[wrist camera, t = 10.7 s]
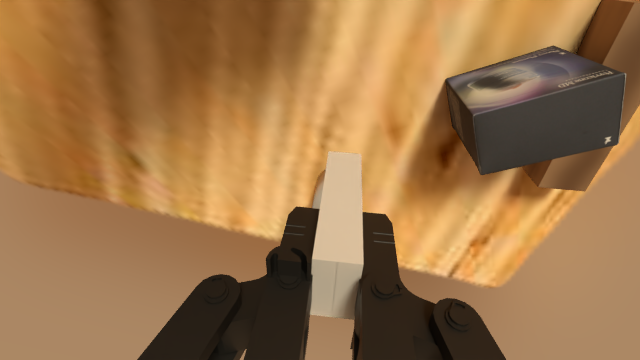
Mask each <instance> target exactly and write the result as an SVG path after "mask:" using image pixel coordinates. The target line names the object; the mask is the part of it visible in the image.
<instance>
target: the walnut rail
mask: <svg viewBox="0 0 640 360" xmlns="http://www.w3.org/2000/svg"><path fill="white" fill-rule="evenodd" d="M576 55H578V56H581V57H584V58H586V59H589V60H591V61H594V62H597V63H599V64H602V65H604V66H607V67H610V68H612V69H614V70H617V71H620V72H624V73H626V83H625V93H624V101H623V109H622V120H621V128H620V135H621V133H622V132H623V130H624V129H625V127H626V125H627V124H628V122H629V121H630V119H631V117H632V116H633V114H634V113H635V111H636V109H637V108H638V106H639V105H640V0H602V1H601V3H600V5H599V7H598V9H597V11H596V14H595V16H594V18H593V20H592V22H591V24H590V26H589V28H588V31H587V33H586V35H585V37H584V39H583V41H582V43H581V45H580V48H579V50H578V52H577V54H576ZM612 148H613V146H610V147H605V148H601V149H597V150H592V151H588V152H583V153H579V154H574V155H570V156H566V157H561V158H556V159H552V160H548V161H543V162H539V163H534V164H530V165H525V166H524V167H523V169H524V170H525V172H526V173H527V174H528V175H529V177H530V178H531V179H532V180H533V181H534V183H535V184H536V185H537V186H538V187H542V188H554V189H565V190H576V191H586V189H587V187H588V186H589V184H590V183H591V181H592V179H593V178H594V176H595V175H596V173H597V171H598V170H599V168H600V167H601V165H602V163H603V162H604V160H605V159H606V157H607V156H608V154H609V152H610V151H611V149H612Z"/></svg>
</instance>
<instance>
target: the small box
mask: <svg viewBox="0 0 640 360" xmlns="http://www.w3.org/2000/svg"><path fill="white" fill-rule="evenodd" d="M445 82H446V89H447V95H448V102H449V108H450V114H451V121H452V127H453V128H454V130H456V132H457V134H458V135H459V137H460V139H461V140H462V142H463V144H464V146H465V147H466V149H467V151H468V152H469V154H470V156H471V157H472V159H473V161H474V162H475V164H476V166H477V168H478V170H479V172H480V174H481V175H485V174H490V173H494V172H498V171H503V170H507V169H512V168H516V167H521V166H525V165H530V164H534V163H539V162H543V161H548V160H552V159H556V158H561V157H566V156H570V155H574V154H579V153H583V152H588V151H592V150H597V149H601V148H605V147H610V146H615V145H617V144H618V143H619V138H620V128H621V120H622V109H623V101H624V93H625V83H626V73H624V72H620V71H617V70H614V69H612V68H610V67H607V66H604V65H602V64H599V63H597V62H594V61H591V60H589V59H586V58H584V57H581V56H578V55H576V54H573V53H571V52H568V51H566V50H563V49H561V48H558V47H556V46H551V47H547V48H544V49H541V50H538V51H535V52H531V53H528V54H525V55H522V56H518V57H515V58H512V59H508V60H505V61H502V62H499V63H496V64H492V65H489V66H486V67H482V68H479V69H476V70H473V71H470V72H466V73H463V74H460V75H457V76H453V77H450V78H447V79H446V80H445Z"/></svg>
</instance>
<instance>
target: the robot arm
mask: <svg viewBox="0 0 640 360" xmlns="http://www.w3.org/2000/svg"><path fill="white" fill-rule="evenodd" d="M393 234H394V233H393V226H392V223H391V221H390V220H389V218H388V217H387V216H386V214H376V213H366V212H362V170H361V154H355V153H344V152H332V151H329V152H328V159H327V165H326V172H325V178H324V185H323V191H322V198H321V204H320V209H316V208H305V207H295V208H294V210H293V211H292V212H291V213H290V214H289V215H288V219H287V223H286V226H285V230H284V234H283V237H282V241H281V244H280V246H278V247H276V248H274V249H273V250H272V251H270V252H269V254H268V256H267V258H266V266H267V274H266V275H265V276H263V277H261V278H259V279H256V280H252V281H247V282H241V283H238V282H237V281H236V279H234V278H233V277H231V276H229V275H223V274H220V275H214V276H211V277H209V278H207V279H205V280H203V281H202V282H201V283H200V284H199V285H198V286H197V287H196V288H195V289H194V290H193V292H192V293H191V294H190V295H189V297H188V298H187V299H186V300H185V301H184V303H183V304H182V305H181V306H180V308H179V309H178V310H177V311H176V313H175V314H174V315H173V316H172V317H171V319H170V320H169V321H168V322H167V324H166V325H165V326H164V327H163V329H162V330H161V331H160V332H159V333H158V335H157V336H156V337H155V339H154V340H153V341H152V342H151V343H150V345H149V346H148V347H147V349H146V350H145V351H144V352H143V353H142V355H141V356H140V357H139V358H138V359H137V360H240V358H241V356H242V354H243V352H244V350H245V349H247V350H246V354H245V357H244V360H305V354H306V346H307V339H308V329H309V317H310V315H318V316H326V317H336V318H344V319H354V316H355V319H354V321H355V323H354V332H353V337H352V343H351V348H350V349H353V355H352V357H353V358H352V360H506V358H505V357H504V355H503V354H502V352H501V350H500V349H499V347H498V345H497V344H496V342H495V340H494V339H493V337H492V336H491V334H490V332H489V331H488V329H487V327H486V325H485V324H484V322H483V321H482V319H481V317H480V316H479V315H478V313H477V312H476V311H475V310H474V309H473V308H472V307H471V306H469V305H468V304H466V303H465V302H462V301H460V300H457V299H450V298H446V299H443V300H440V301H439V302H438V303H437V304H434V303H432V302H429V301H427V300H424V299H422V298H419V297H417V296H415V295H414V294H412V293H411V292H410V291H408V290H407V288H406V287H405V286H404V285H403V283H402V282H401V280H400V276H399V270H398V263H397V255H396V248H395V241H394V236H393Z"/></svg>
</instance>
